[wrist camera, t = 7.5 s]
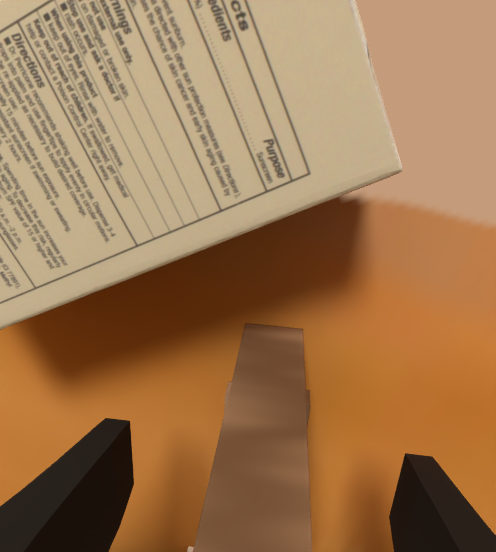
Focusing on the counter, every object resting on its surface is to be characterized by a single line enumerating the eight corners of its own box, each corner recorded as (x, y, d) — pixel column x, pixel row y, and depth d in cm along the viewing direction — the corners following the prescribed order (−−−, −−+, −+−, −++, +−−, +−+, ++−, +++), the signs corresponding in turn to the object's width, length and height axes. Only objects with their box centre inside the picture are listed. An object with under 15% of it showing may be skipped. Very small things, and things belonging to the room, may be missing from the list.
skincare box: (35, 292, 15) (373, 165, 12) (-61, 357, 11) (413, 189, 8) (-72, 112, 13) (301, -86, 10) (-237, 111, 9) (306, -216, 6)
